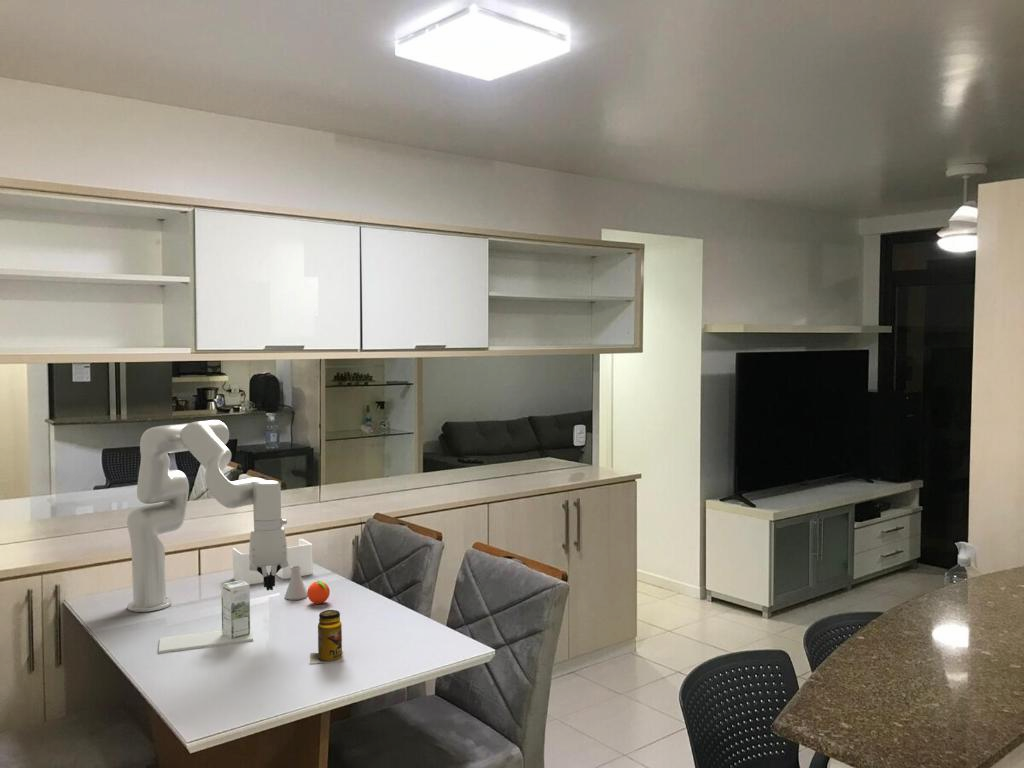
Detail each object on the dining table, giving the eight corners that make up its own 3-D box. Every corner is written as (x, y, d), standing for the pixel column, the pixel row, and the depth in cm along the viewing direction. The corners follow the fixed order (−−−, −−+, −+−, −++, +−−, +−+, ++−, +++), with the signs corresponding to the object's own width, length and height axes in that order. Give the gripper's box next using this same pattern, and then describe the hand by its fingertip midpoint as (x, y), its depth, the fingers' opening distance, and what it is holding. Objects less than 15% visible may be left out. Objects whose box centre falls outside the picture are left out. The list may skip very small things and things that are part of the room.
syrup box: (240, 629, 239) (239, 579, 239) (251, 634, 235) (249, 583, 234) (221, 634, 235) (220, 583, 235) (231, 639, 231) (230, 587, 230)
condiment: (343, 661, 216) (343, 615, 215) (309, 664, 214) (309, 618, 213) (343, 651, 223) (342, 607, 222) (310, 654, 221) (309, 609, 220)
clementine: (336, 603, 265) (335, 581, 264) (317, 608, 260) (317, 586, 259) (321, 598, 270) (321, 576, 270) (303, 603, 265) (302, 581, 265)
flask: (280, 599, 270) (279, 568, 270) (294, 593, 277) (293, 563, 276) (298, 601, 267) (298, 570, 267) (312, 595, 274) (311, 565, 274)
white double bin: (242, 586, 286) (241, 554, 286) (233, 579, 295) (232, 548, 295) (312, 574, 300) (312, 544, 300) (302, 568, 309) (301, 538, 309)
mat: (160, 639, 233) (160, 637, 233) (250, 628, 242) (250, 626, 242) (158, 653, 223) (158, 650, 223) (253, 641, 231) (253, 638, 231)
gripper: (293, 520, 243) (295, 582, 244) (239, 524, 238) (241, 588, 239) (296, 525, 236) (298, 589, 237) (240, 529, 231) (242, 595, 232)
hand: (269, 589), depth 238 cm, fingers closed
